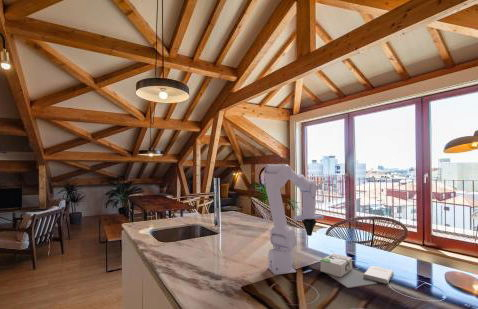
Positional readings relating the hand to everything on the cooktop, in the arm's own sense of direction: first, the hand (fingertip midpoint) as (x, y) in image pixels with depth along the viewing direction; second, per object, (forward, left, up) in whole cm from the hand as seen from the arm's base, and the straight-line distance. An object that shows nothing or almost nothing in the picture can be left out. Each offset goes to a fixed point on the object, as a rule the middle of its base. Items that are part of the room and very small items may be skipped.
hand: (309, 235), depth 123 cm
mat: (+3, -24, -10) cm, 26 cm away
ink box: (-3, -20, -8) cm, 22 cm away
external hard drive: (+15, -26, -10) cm, 32 cm away
